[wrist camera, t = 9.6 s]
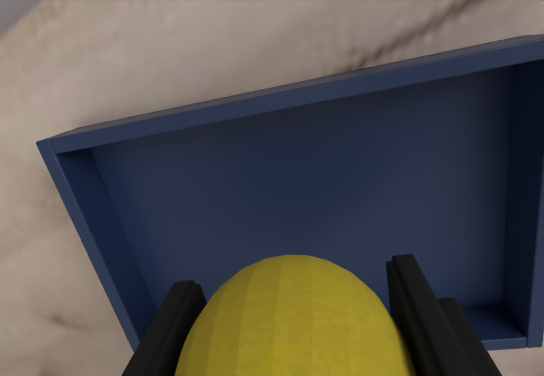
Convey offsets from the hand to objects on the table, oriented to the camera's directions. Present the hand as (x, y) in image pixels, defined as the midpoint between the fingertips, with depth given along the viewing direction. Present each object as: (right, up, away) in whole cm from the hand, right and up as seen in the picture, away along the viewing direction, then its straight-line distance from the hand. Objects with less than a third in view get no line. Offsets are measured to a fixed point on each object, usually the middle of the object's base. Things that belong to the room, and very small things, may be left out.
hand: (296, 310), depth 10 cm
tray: (+1, +2, +5) cm, 6 cm away
